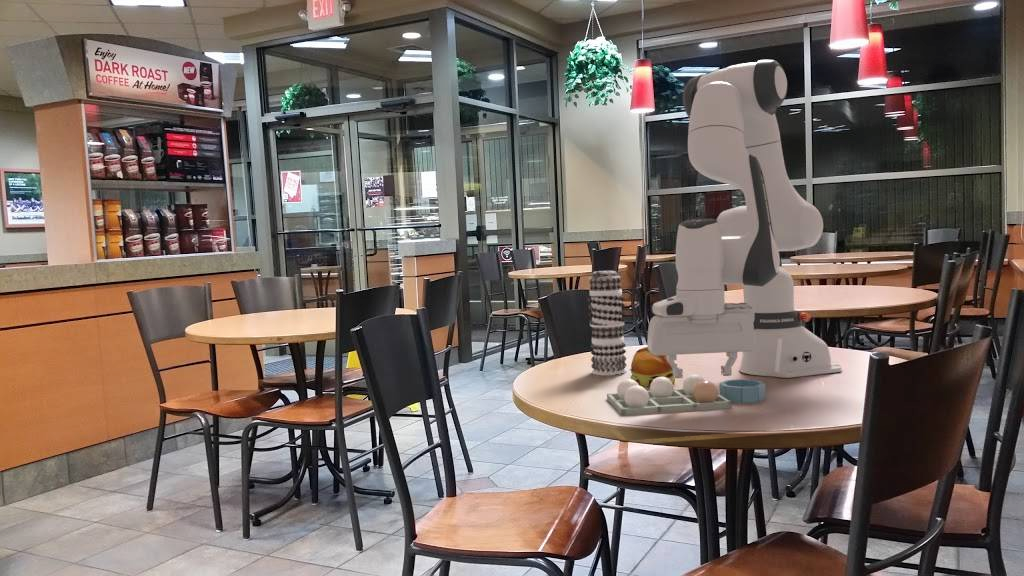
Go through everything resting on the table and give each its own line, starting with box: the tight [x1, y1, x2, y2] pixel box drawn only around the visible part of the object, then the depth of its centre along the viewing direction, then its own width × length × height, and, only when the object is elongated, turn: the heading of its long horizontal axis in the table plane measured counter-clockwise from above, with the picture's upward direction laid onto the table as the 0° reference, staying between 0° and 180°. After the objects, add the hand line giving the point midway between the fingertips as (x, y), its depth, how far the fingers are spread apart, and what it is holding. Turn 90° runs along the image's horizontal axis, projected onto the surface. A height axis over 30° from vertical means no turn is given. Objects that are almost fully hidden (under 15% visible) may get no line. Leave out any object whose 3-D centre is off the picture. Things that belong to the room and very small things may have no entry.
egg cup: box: [719, 378, 766, 404], centre depth 150 cm, size 8×8×4 cm
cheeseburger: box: [629, 346, 678, 388], centre depth 168 cm, size 10×11×10 cm
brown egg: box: [693, 380, 719, 403], centre depth 145 cm, size 5×5×5 cm
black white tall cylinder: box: [586, 270, 628, 376], centre depth 187 cm, size 9×9×25 cm
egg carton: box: [606, 373, 733, 416], centre depth 148 cm, size 21×14×5 cm
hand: (702, 376), depth 145 cm, fingers open, 8 cm apart
